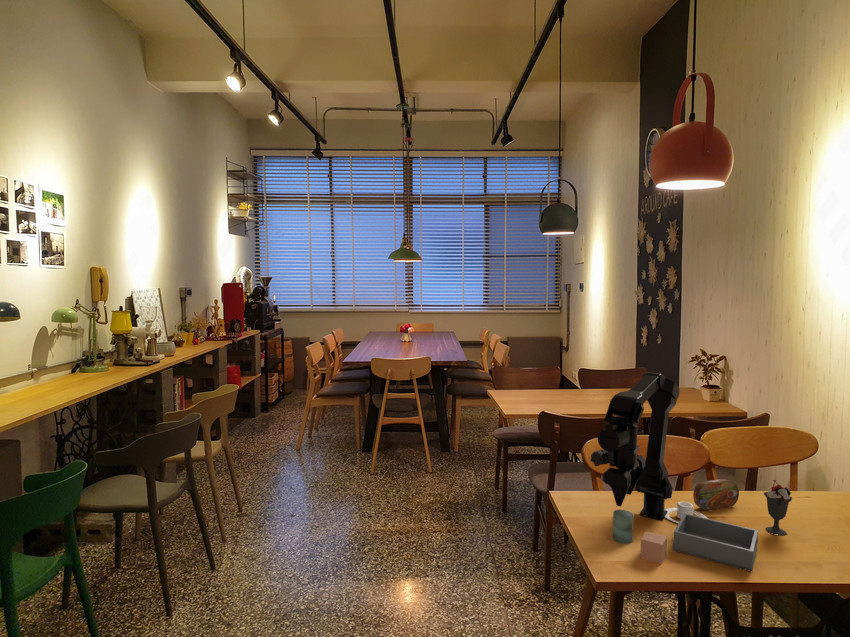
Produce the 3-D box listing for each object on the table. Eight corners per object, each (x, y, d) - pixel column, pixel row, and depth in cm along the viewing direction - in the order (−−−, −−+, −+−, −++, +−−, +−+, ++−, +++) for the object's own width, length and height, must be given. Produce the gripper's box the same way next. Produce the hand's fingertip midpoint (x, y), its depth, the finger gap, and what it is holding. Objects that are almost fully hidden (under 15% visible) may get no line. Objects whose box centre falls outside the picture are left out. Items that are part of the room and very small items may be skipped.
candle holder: (716, 528, 152) (717, 513, 152) (673, 528, 152) (673, 513, 152) (696, 510, 164) (696, 496, 164) (656, 509, 164) (656, 496, 164)
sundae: (762, 534, 148) (765, 480, 147) (760, 524, 154) (763, 472, 153) (791, 539, 145) (794, 484, 144) (788, 529, 151) (791, 476, 150)
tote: (683, 530, 150) (684, 513, 150) (757, 549, 140) (758, 530, 139) (673, 550, 139) (673, 531, 139) (752, 571, 129) (753, 551, 129)
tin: (698, 512, 162) (699, 485, 161) (690, 508, 165) (691, 481, 164) (739, 506, 166) (740, 480, 165) (731, 502, 169) (732, 476, 168)
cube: (645, 550, 139) (646, 531, 139) (666, 556, 136) (667, 536, 136) (640, 558, 135) (641, 538, 135) (661, 564, 132) (662, 544, 132)
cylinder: (615, 532, 149) (616, 508, 148) (634, 538, 146) (635, 512, 145) (610, 540, 145) (610, 514, 144) (629, 545, 142) (630, 519, 141)
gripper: (605, 429, 155) (604, 482, 157) (583, 446, 140) (581, 504, 142) (646, 436, 149) (645, 491, 150) (627, 454, 134) (625, 515, 135)
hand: (623, 500), depth 144 cm, fingers open, 9 cm apart
